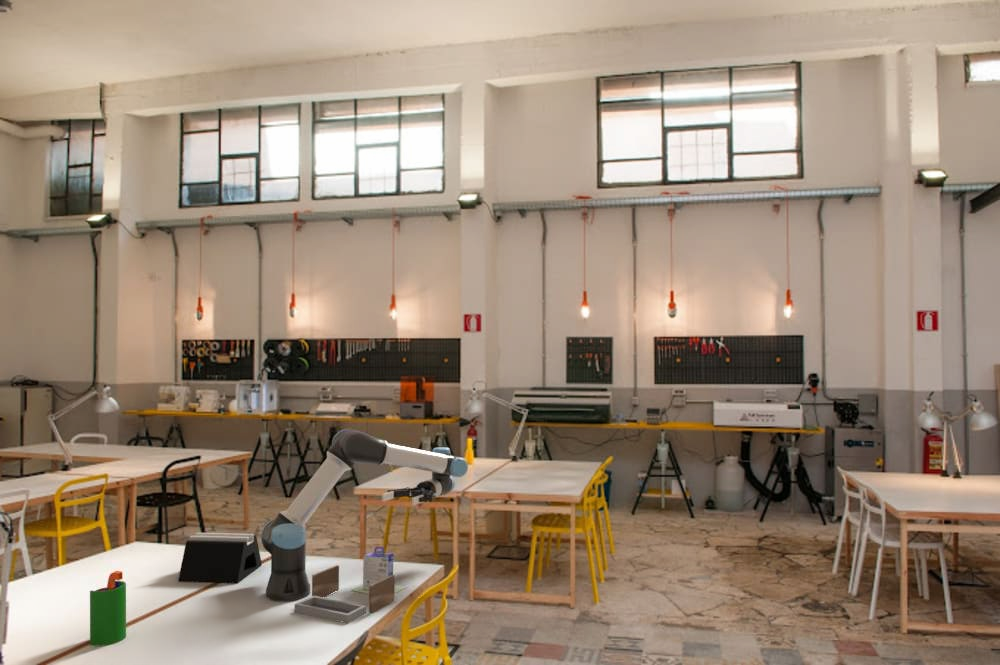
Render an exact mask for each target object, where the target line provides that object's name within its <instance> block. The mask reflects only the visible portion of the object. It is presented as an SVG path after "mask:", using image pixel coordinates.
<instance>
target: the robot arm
mask: <svg viewBox="0 0 1000 665" xmlns="http://www.w3.org/2000/svg"><path fill="white" fill-rule="evenodd" d="M356 464H364V465H365V464H368V465H377V466H382V465H383V464H387V465H392V466H397V467H403V468H410V469H414V470H420V471H427V472H431V478H430V479H427V480H425V481H420V482H419V483H417V485H416V487H411V488H410V487H404V488H397V489H388V490H387V492H386V493H382V494H381V502H383V503H385V502H387V501H390V500H391V501H392V500H393V499H395V498H405V497H406V498H411V500H412V503H411V506H415V505H418V504H422V503H426V502H429V503H432V502H434V499H435V498H438V497H441V496H446V495H447V494H449V493H451V492H452V491H453V490H454V489H455V485H456V482H455V480H454V478H453V477H456V478H461V477H463V476H465V475H466V474H467V472H468V468H469V465H468V462H467V460H466V459H464V458H462V457H461V456H460V457H459V456H455V455H452V453H451V449H450V448H449V447H447V446H445V447H444V446H443V447H442V446H439V447H434V448H433V449H432V451H428V450H424V449H419V448H413V447H408V446H403V445H398V444H394V443H393V444H392V443H390V442H388V441H387V440H386V439H382V438H378V437H374V436H372V435H370V434H368V433H366V432H362V431H360V430H357V429H355V428H345V429H341V430H339V431H338V432H337V433H336V434H335V435H334V437H333V438H332V442H331V445H330V447H329V449H328V450H327V451H326V459H325V460H324V461H323V463H322V464H321V465H320V466H319V468H318V469H317V470H316V471H315V473H314V474H313V475H312V477H311V478H309V481H308V482H307V483H306V484H305V485H304V487H303V488H302V489H301V491H300V492H299V494H298V495H297V496H296V498H295V499H294V500H293V501H292V503H291V504H290V505H289V506H288V508H287V509H286V510H282V511H279V513H278V514H277V515H276V516H275V517H274V519H271V520H270V521H268V522H267V523H266V524H265V525H264V526H263V528H262V529H261V532H260V541H261V544H262V546H263V549H265V550H266V552H268V553H269V554H270V555H271V559H270V561H271V562H270V563H271V564H270V565H271V566H270V568H271V570H270V571H271V572H270V575H269V578H268V581H267V582H268V583H267V586H266V587H265V597H266V598H267V600H270V601H276V602H289V601H296V600H299V599H303V598H305V597H308V596H309V595H310V594H311V584H310V583H309V579H308V575H307V571H306V563H307V562H306V557H307V556H306V553H307V552H306V549H307V548H306V547H307V546H306V543H307V542H306V541H307V533H306V532H307V531H306V523H307V522H308V521H309V520H310V518H311V517H312V516H313V514H314V513H315V512H316V510H317V509H318V508H319V506H320V505H321V504H322V502H323V501H324V499H325V498H326V497H327V496H328V494H329V493H330V492H331V491H332V490H333V488H334V487H335V485H336V484H337V482H338V481H339V480H340V478H341V477H342V476H343V474H345V472H347V471H351V470H352V469H353V468H354V467H355V465H356Z"/></svg>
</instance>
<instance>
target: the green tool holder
mask: <svg viewBox="0 0 1000 665" xmlns="http://www.w3.org/2000/svg"><path fill="white" fill-rule="evenodd" d="M126 637H127V583H126V582H125V581H123V571H120V570H115V571H113V572H111V573H110V574H109V575H108V579H107V584H106V587H101V588H98V589H96V590H89V645H90V646H93V647H94V646H97V647H99V646H108V645H113V644H116V643H118V642H121V641H123V640H124V639H125V638H126Z"/></svg>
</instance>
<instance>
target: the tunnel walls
mask: <svg viewBox="0 0 1000 665" xmlns="http://www.w3.org/2000/svg"><path fill="white" fill-rule="evenodd" d="M395 577H396V576H395V575H394V574H393V575H391V576H389V577H387V578H384V579H382V580H380V581H378V582H376V583H374V584H372V585H369V594H368V614H370V613H371V614H370V615H372V614H374V613H376V612H377V611H379V609H380V610H381V609H384V608H385V607H387V606H389V605H390V604H393V603H395V594H394V593H395V585H396V584H395V583H396V582H395ZM311 584H312V585H311V597H312V596H318V597H324V598H326V597H328V596H327V595H329V594H331V593H333V592H335V591H338V590H340V565H337V564H336V565H334V566H331V567H328V568H327V569H324V570H322V571H319V572H317V573H314V574H311ZM338 592H339V591H338ZM335 593H336V592H335ZM333 594H334V593H333ZM331 595H332V594H331ZM325 596H326V597H325ZM329 596H330V595H329ZM375 611H376V612H375ZM373 612H374V613H373Z"/></svg>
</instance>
